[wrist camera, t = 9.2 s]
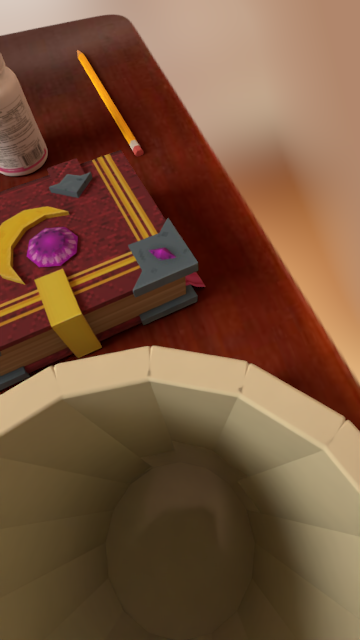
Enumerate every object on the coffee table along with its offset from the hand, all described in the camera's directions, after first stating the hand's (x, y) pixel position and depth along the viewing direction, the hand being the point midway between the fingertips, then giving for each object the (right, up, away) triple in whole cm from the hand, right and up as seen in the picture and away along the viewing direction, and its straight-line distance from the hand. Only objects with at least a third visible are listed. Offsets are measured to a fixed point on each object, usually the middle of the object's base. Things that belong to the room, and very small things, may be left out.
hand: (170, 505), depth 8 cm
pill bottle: (-13, +18, +21) cm, 31 cm away
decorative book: (-7, +7, +15) cm, 18 cm away
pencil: (-7, +26, +25) cm, 37 cm away
